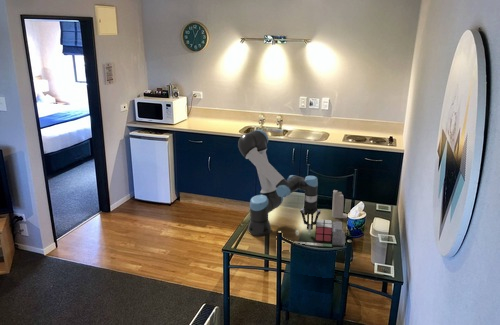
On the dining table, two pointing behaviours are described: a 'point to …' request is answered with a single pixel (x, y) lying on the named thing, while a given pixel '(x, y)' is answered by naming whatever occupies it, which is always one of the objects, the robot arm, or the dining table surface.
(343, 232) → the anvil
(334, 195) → the beige l-shaped block
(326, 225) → the puzzle cube
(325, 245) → the scale strip
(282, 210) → the dining table surface
